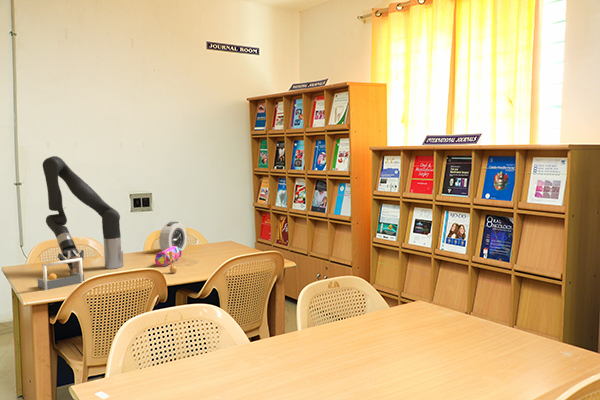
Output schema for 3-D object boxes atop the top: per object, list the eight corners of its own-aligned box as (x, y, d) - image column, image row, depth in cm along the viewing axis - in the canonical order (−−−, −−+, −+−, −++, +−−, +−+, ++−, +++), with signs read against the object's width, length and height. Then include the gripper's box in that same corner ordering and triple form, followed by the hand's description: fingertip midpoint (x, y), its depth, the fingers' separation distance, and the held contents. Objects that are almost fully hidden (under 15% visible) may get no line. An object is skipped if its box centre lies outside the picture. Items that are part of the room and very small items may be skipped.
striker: (77, 274, 271) (76, 256, 270) (80, 275, 268) (79, 257, 267) (70, 275, 268) (69, 257, 267) (73, 276, 265) (72, 258, 264)
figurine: (167, 274, 267) (166, 252, 266) (163, 272, 271) (162, 251, 270) (182, 272, 272) (181, 250, 271) (177, 270, 277) (176, 249, 276)
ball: (55, 279, 259) (54, 272, 259) (58, 280, 256) (57, 273, 256) (47, 281, 256) (46, 273, 256) (50, 282, 253) (49, 274, 253)
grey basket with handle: (76, 279, 259) (75, 255, 258) (84, 282, 253) (83, 257, 252) (36, 286, 245) (35, 261, 244) (43, 290, 239) (42, 264, 237)
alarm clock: (169, 254, 322) (168, 224, 320) (159, 253, 325) (158, 223, 323) (187, 248, 342) (186, 220, 340) (178, 247, 344) (177, 219, 343)
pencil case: (169, 267, 286) (169, 251, 285) (154, 267, 287) (153, 251, 286) (182, 259, 307) (182, 244, 306) (168, 259, 308) (167, 244, 307)
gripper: (54, 240, 266) (64, 266, 259) (80, 237, 276) (91, 261, 269) (51, 249, 270) (61, 274, 263) (77, 245, 280) (87, 269, 273)
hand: (76, 267), depth 266 cm, fingers closed on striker, 4 cm apart
